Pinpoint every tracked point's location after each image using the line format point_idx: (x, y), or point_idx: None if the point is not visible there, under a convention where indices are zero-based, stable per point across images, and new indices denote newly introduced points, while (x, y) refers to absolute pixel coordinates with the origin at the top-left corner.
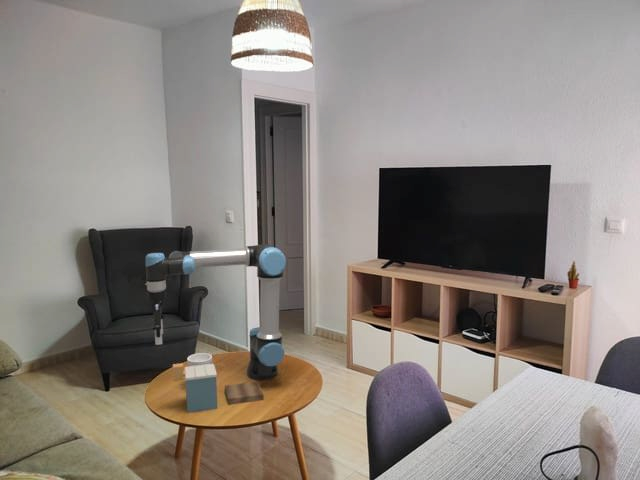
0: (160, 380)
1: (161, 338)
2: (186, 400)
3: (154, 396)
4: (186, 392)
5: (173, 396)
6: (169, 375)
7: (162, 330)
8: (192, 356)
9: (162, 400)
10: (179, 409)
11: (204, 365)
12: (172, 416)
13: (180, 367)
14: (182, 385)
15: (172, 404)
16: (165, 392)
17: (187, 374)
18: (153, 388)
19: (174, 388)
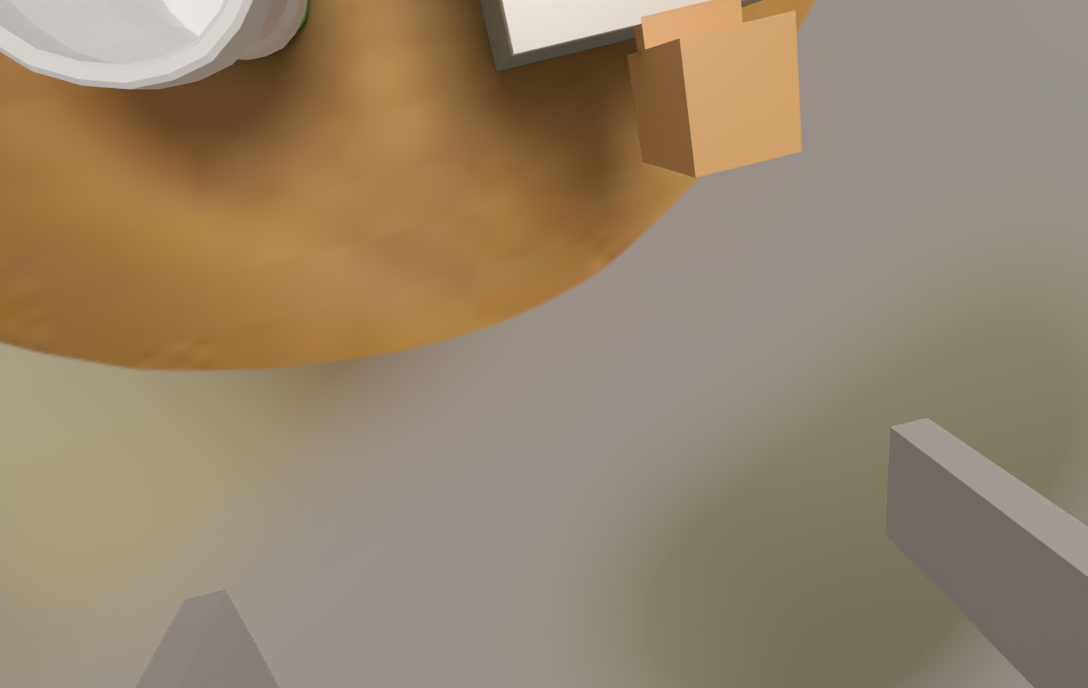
0: (149, 349)
1: (1039, 506)
2: (519, 65)
3: (426, 319)
4: (623, 35)
5: (429, 186)
6: (36, 306)
7: (192, 670)
8: (14, 28)
9: (490, 250)
10: None
11: None
12: None
13: (788, 50)
14: (225, 156)
15: (557, 165)
16: (361, 261)
17: None
18: (297, 359)
19: (288, 210)
